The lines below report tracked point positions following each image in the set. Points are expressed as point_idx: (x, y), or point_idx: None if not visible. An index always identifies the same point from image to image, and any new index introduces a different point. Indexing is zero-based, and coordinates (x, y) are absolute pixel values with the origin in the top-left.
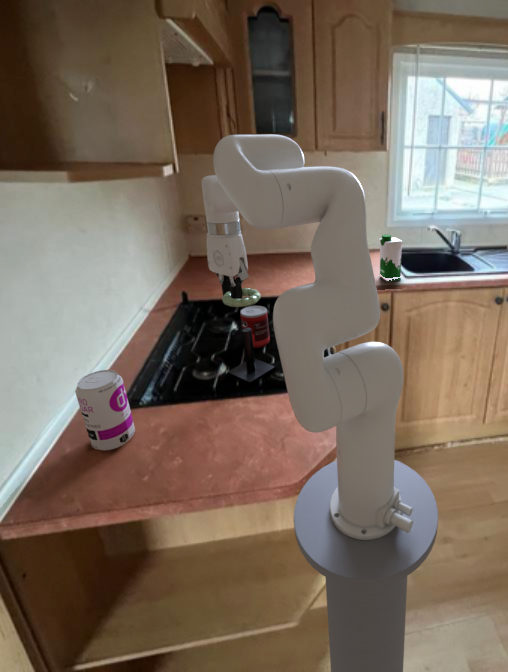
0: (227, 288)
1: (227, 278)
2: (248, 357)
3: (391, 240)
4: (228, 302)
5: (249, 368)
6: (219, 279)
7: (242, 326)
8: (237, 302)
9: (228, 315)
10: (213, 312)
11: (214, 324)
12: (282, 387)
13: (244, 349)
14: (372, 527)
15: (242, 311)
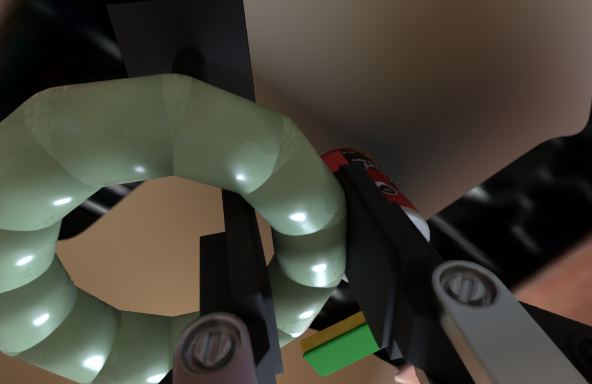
0: (365, 256)
1: (437, 364)
2: (174, 68)
3: None
4: (72, 95)
5: (177, 55)
6: (506, 297)
7: (382, 180)
8: None
9: (521, 205)
10: (570, 188)
11: (525, 155)
12: (20, 76)
13: (190, 73)
14: None
15: (415, 222)
